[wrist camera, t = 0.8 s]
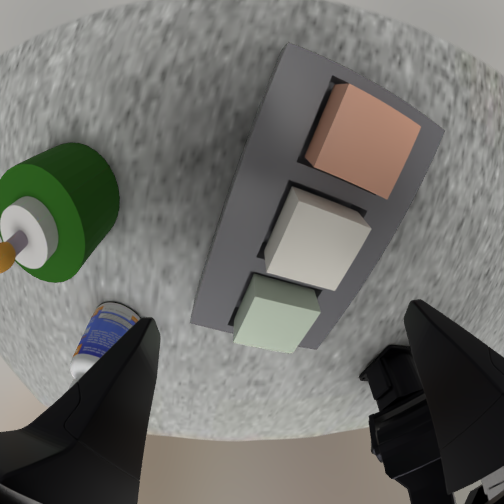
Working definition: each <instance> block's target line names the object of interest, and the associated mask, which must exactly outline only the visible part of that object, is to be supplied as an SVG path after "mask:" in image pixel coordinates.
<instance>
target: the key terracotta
mask: <svg viewBox="0 0 504 504" xmlns="http://www.w3.org/2000/svg"><path fill="white" fill-rule="evenodd" d="M420 129H421V126H420V125H418V124H417V123H415V122H414V121H412V120H411V119H409V118H408V117H406V116H405V115H403V114H402V113H400V112H399V111H397V110H395V109H394V108H392V107H391V106H389V105H387V104H386V103H384V102H382V101H381V100H379V99H377V98H375V97H374V96H372V95H370V94H368V93H366V92H365V91H363V90H361V89H359V88H357V87H355V86H353V85H351V84H349V83H348V84H335V85H334V87H333V89H332V91H331V94H330V96H329V99H328V101H327V104H326V106H325V108H324V111H323V113H322V116H321V118H320V120H319V123H318V125H317V128H316V130H315V132H314V135H313V137H312V140H311V142H310V144H309V147H308V149H307V151H306V154H305V156H304V157H305V158H306V159H307V160H308V161H309V162H310V163H311V164H312V166H313V167H315V168H317V169H320V170H322V171H325V172H327V173H330V174H332V175H334V176H337V177H339V178H341V179H344V180H346V181H348V182H350V183H353V184H355V185H357V186H359V187H362V188H364V189H366V190H368V191H370V192H372V193H374V194H376V195H379V196H381V197H383V198H385V199H388V197H389V195H390V193H391V191H392V189H393V187H394V185H395V183H396V181H397V179H398V177H399V175H400V173H401V171H402V169H403V167H404V165H405V162H406V160H407V158H408V156H409V154H410V152H411V149H412V147H413V145H414V143H415V140H416V138H417V136H418V133H419V131H420Z"/></svg>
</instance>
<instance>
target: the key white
mask: <svg viewBox="0 0 504 504" xmlns="http://www.w3.org/2000/svg"><path fill="white" fill-rule="evenodd" d="M370 231H371V227H370V226H369V225H368V224H367V222H366V221H365V220H364V219H363V218H362V216H361V215H360V214H359V213H358V212H357V211H355V210H353V209H350V208H348V207H345V206H343V205H340V204H338V203H335V202H333V201H330V200H328V199H325V198H323V197H320V196H317V195H315V194H312V193H309V192H307V191H304V190H301V189H299V188H296V187H293V186H292V187H291V189H290V192H289V194H288V196H287V199H286V201H285V203H284V206H283V208H282V210H281V213H280V215H279V217H278V220H277V222H276V224H275V227H274V229H273V231H272V234H271V236H270V238H269V240H268V243H267V245H266V247H265V250H264V255H265V264H266V273H270V274H274V275H277V276H281V277H285V278H288V279H292V280H296V281H299V282H303V283H307V284H311V285H314V286H318V287H322V288H326V289H329V290H333V291H335V290H336V288H337V287H338V285H339V284H340V282H341V280H342V279H343V277H344V275H345V274H346V272H347V271H348V269H349V267H350V266H351V264H352V262H353V261H354V259H355V257H356V256H357V254H358V252H359V250H360V249H361V247H362V245H363V243H364V242H365V240H366V238H367V236H368V235H369V233H370Z"/></svg>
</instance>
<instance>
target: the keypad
mask: <svg viewBox="0 0 504 504" xmlns="http://www.w3.org/2000/svg"><path fill="white" fill-rule="evenodd" d="M348 83H349V84H351V85H353V86H355V87H357V88H359V89H361V90H363V91H365V92H366V93H368V94H370V95H372V96H374V97H375V98H377V99H379V100H381V101H382V102H384V103H386V104H387V105H389V106H391V107H392V108H394V109H395V110H397V111H399V112H400V113H402V114H403V115H405V116H406V117H408V118H409V119H411V120H412V121H414V122H415V123H417V124H418V125H420V126H421V129H420V131H419V133H418V136H417V138H416V140H415V143H414V145H413V147H412V149H411V152H410V154H409V156H408V158H407V160H406V162H405V165H404V167H403V169H402V171H401V173H400V175H399V177H398V179H397V181H396V183H395V185H394V187H393V189H392V191H391V193H390V195H389V197H388V199H385V198H383V197H381V196H379V195H376V194H374V193H372V192H370V191H368V190H366V189H364V188H362V187H359V186H357V185H355V184H353V183H350V182H348V181H346V180H344V179H341V178H339V177H337V176H334V175H332V174H330V173H327V172H325V171H322V170H320V169H317V168H315V167H313V166H312V164H311V163H310V162H309V161H308V160H307V159H306V158H305V157H304V156H305V154H306V151H307V149H308V147H309V144H310V142H311V140H312V137H313V135H314V132H315V130H316V128H317V125H318V123H319V120H320V118H321V116H322V113H323V111H324V108H325V106H326V104H327V101H328V99H329V96H330V94H331V91H332V89H333V87H334V85H335V84H348ZM444 132H445V130H444V129H442V128H441V127H440V126H439V125H437V124H436V123H435V122H433V121H432V120H431V119H429V118H428V117H427V116H425V115H424V114H422V113H421V112H420V111H418V110H417V109H415V108H414V107H413V106H411V105H410V104H408V103H407V102H405V101H404V100H402V99H401V98H399V97H397V96H396V95H394V94H393V93H391V92H389V91H388V90H386V89H385V88H383V87H381V86H380V85H378V84H376V83H374V82H373V81H371V80H369V79H367V78H365V77H364V76H362V75H360V74H358V73H356V72H354V71H352V70H350V69H348V68H346V67H344V66H342V65H340V64H338V63H336V62H334V61H332V60H330V59H328V58H325V57H323V56H321V55H319V54H316V53H314V52H312V51H309V50H307V49H304V48H302V47H299V46H297V45H294V44H292V43H289V42H288V43H287V44H286V45H285V47H284V48H283V49H282V51H281V54H280V56H279V58H278V61H277V63H276V66H275V68H274V71H273V73H272V76H271V78H270V81H269V83H268V86H267V88H266V91H265V93H264V96H263V99H262V101H261V104H260V106H259V109H258V112H257V114H256V117H255V120H254V122H253V125H252V128H251V130H250V133H249V136H248V139H247V141H246V144H245V147H244V150H243V152H242V155H241V158H240V161H239V164H238V166H237V169H236V172H235V175H234V178H233V181H232V184H231V187H230V190H229V193H228V195H227V198H226V201H225V204H224V207H223V210H222V213H221V216H220V220H219V223H218V226H217V229H216V232H215V235H214V238H213V241H212V244H211V248H210V251H209V254H208V257H207V260H206V264H205V267H204V270H203V273H202V277H201V280H200V283H199V287H198V290H197V293H196V297H195V300H194V305H193V310H192V315H191V320H190V323H192V324H196V325H200V326H204V327H208V328H212V329H216V330H220V331H224V332H228V333H234V318H235V316H236V314H237V311H238V309H239V307H240V305H241V302H242V300H243V298H244V295H245V293H246V291H247V289H248V286H249V284H250V282H251V279H252V277H253V275H254V274H258V275H262V276H265V277H269V278H273V279H276V280H280V281H284V282H288V283H291V284H295V285H299V286H303V287H306V288H310V289H314V290H315V294H316V297H317V300H318V304H319V307H320V311H321V313H320V314H319V316H318V317H317V319H316V320H315V322H314V323H313V325H312V326H311V328H310V329H309V331H308V332H307V334H306V335H305V336H304V338H303V339H302V341H301V342H300V343H299V345H298V347H303V348H309V349H317V348H318V347H319V346H320V344H321V343H322V342H323V340H324V339H325V338H326V336H327V335H328V334H329V332H330V331H331V330H332V328H333V327H334V326H335V324H336V323H337V322H338V320H339V319H340V317H341V316H342V315H343V313H344V312H345V310H346V309H347V308H348V306H349V305H350V303H351V302H352V300H353V299H354V297H355V296H356V294H357V293H358V291H359V290H360V288H361V287H362V285H363V284H364V282H365V281H366V279H367V278H368V276H369V275H370V273H371V272H372V270H373V268H374V267H375V265H376V264H377V262H378V260H379V259H380V257H381V256H382V254H383V252H384V251H385V249H386V247H387V246H388V244H389V242H390V241H391V239H392V237H393V235H394V234H395V232H396V230H397V228H398V227H399V225H400V223H401V221H402V219H403V218H404V216H405V214H406V212H407V210H408V208H409V206H410V205H411V203H412V201H413V199H414V197H415V195H416V193H417V191H418V189H419V187H420V185H421V183H422V181H423V179H424V177H425V175H426V173H427V171H428V168H429V166H430V164H431V162H432V160H433V157H434V155H435V153H436V151H437V148H438V146H439V144H440V141H441V139H442V137H443V134H444ZM292 186H293V187H296V188H299V189H301V190H304V191H307V192H309V193H312V194H315V195H317V196H320V197H323V198H325V199H328V200H330V201H333V202H335V203H338V204H340V205H343V206H345V207H348V208H350V209H353V210H355V211H357V212H358V213H359V214H360V215H361V216H362V218H363V219H364V220H365V221H366V222H367V224H368V225H369V226H370V227H371V231H370V233H369V235H368V236H367V238H366V240H365V242H364V243H363V245H362V247H361V249H360V250H359V252H358V254H357V256H356V257H355V259H354V261H353V262H352V264H351V266H350V267H349V269H348V271H347V272H346V274H345V275H344V277H343V279H342V280H341V282H340V284H339V285H338V287H337V288H336V290H335V291H333V290H329V289H326V288H322V287H318V286H314V285H311V284H307V283H303V282H299V281H296V280H292V279H288V278H285V277H281V276H277V275H274V274H270V273H266V264H265V255H264V250H265V247H266V245H267V243H268V240H269V238H270V236H271V234H272V231H273V229H274V227H275V224H276V222H277V220H278V217H279V215H280V213H281V210H282V208H283V206H284V203H285V201H286V199H287V196H288V194H289V192H290V189H291V187H292Z"/></svg>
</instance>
